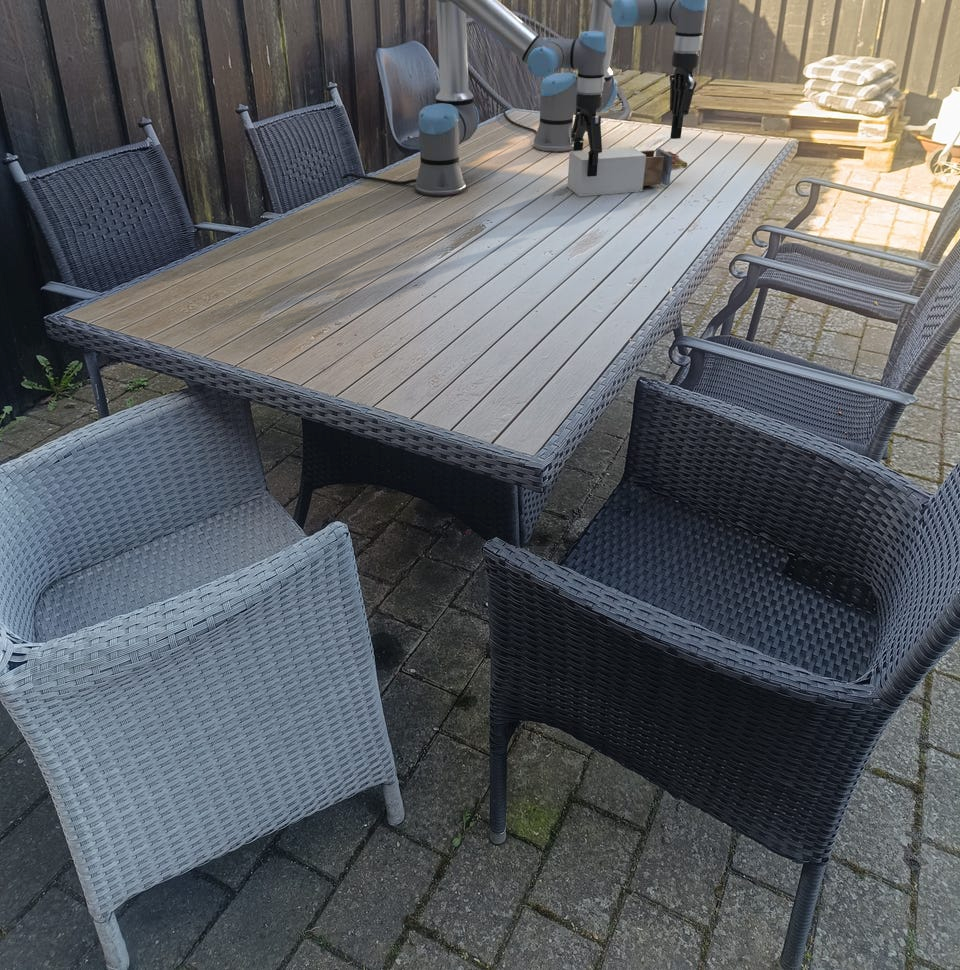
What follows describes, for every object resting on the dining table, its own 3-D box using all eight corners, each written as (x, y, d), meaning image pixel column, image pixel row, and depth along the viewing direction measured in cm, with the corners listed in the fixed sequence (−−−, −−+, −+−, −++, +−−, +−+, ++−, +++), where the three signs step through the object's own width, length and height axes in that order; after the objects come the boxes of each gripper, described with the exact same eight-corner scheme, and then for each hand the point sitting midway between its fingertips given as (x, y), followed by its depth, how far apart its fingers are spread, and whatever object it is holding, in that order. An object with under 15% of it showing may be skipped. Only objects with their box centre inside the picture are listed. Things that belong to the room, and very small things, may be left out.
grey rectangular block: (628, 181, 265) (632, 146, 259) (642, 191, 257) (646, 155, 251) (567, 186, 261) (569, 151, 255) (579, 196, 253) (581, 160, 247)
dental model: (673, 148, 282) (683, 154, 275) (672, 161, 284) (682, 167, 278) (657, 149, 281) (667, 156, 274) (656, 162, 283) (666, 169, 277)
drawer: (674, 175, 268) (678, 146, 263) (687, 183, 260) (691, 154, 255) (599, 181, 262) (601, 152, 257) (610, 190, 255) (613, 160, 250)
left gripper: (618, 100, 233) (611, 180, 245) (586, 84, 252) (581, 159, 264) (592, 102, 231) (587, 182, 244) (563, 85, 250) (559, 160, 263)
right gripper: (709, 54, 238) (696, 142, 251) (688, 47, 248) (677, 132, 262) (684, 56, 236) (673, 144, 250) (664, 48, 246) (655, 133, 260)
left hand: (584, 170), depth 254 cm, fingers open, 12 cm apart
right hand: (675, 138), depth 256 cm, fingers closed
